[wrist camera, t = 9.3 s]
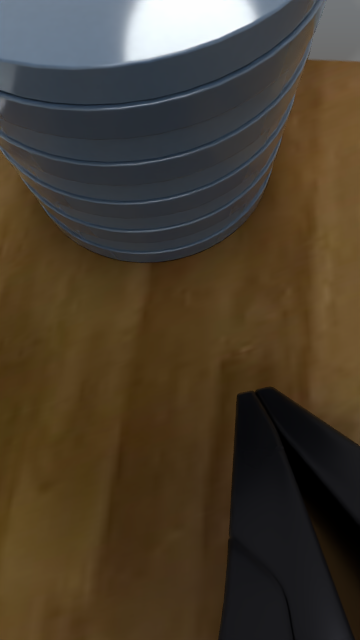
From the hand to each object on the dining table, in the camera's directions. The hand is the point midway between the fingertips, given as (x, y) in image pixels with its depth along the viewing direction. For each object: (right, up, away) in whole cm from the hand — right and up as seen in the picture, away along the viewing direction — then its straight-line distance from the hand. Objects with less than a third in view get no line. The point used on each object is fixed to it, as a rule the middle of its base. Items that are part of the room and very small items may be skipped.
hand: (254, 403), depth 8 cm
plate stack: (-4, +14, +15) cm, 21 cm away
